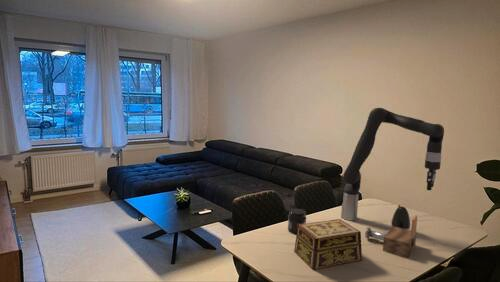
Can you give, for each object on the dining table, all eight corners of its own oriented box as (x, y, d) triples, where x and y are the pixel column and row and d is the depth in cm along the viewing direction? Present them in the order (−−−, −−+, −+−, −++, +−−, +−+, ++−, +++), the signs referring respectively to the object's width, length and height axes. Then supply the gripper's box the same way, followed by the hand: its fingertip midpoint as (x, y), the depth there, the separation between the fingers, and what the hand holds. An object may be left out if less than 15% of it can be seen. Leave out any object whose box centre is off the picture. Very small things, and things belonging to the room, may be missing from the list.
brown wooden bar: (364, 239, 177) (365, 229, 176) (368, 235, 181) (369, 225, 180) (398, 248, 166) (398, 237, 165) (400, 244, 171) (401, 234, 170)
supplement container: (309, 233, 185) (310, 213, 184) (293, 235, 181) (294, 215, 180) (299, 226, 195) (300, 207, 193) (284, 228, 191) (285, 209, 189)
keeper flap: (410, 238, 161) (412, 219, 160) (413, 233, 167) (415, 215, 166) (412, 238, 160) (414, 219, 159) (415, 233, 167) (417, 215, 165)
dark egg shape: (405, 227, 195) (407, 204, 193) (412, 235, 185) (414, 210, 183) (388, 226, 196) (390, 203, 194) (394, 234, 186) (396, 209, 184)
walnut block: (382, 250, 165) (383, 236, 164) (391, 238, 179) (392, 225, 178) (408, 258, 158) (410, 243, 157) (416, 245, 172) (417, 231, 171)
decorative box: (339, 244, 172) (340, 217, 170) (362, 261, 155) (364, 231, 153) (293, 252, 162) (294, 224, 160) (313, 270, 145) (314, 239, 143)
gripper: (427, 157, 184) (424, 184, 186) (423, 161, 173) (420, 189, 175) (442, 159, 179) (439, 186, 182) (439, 163, 168) (436, 192, 170)
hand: (430, 188), depth 178 cm, fingers open, 8 cm apart
